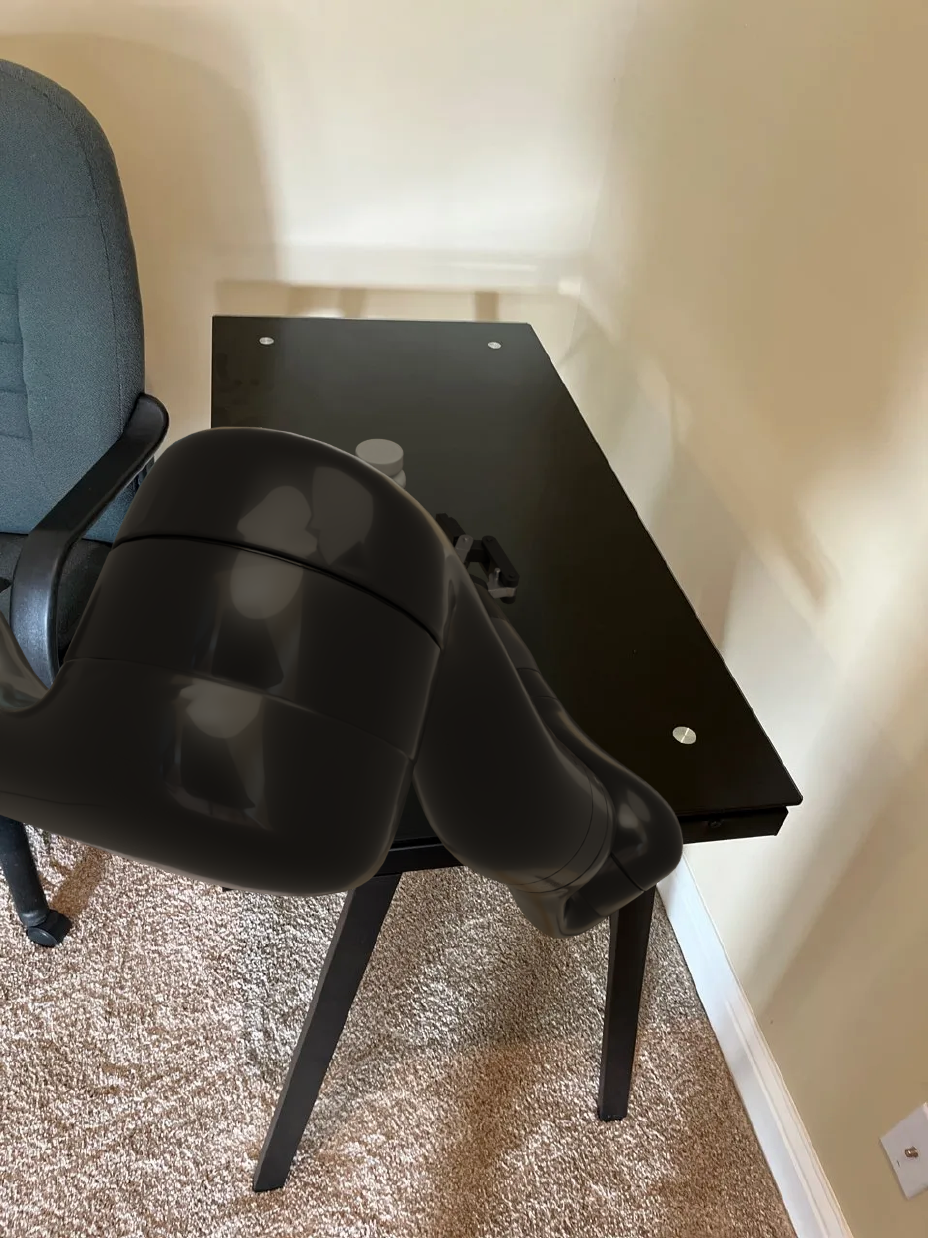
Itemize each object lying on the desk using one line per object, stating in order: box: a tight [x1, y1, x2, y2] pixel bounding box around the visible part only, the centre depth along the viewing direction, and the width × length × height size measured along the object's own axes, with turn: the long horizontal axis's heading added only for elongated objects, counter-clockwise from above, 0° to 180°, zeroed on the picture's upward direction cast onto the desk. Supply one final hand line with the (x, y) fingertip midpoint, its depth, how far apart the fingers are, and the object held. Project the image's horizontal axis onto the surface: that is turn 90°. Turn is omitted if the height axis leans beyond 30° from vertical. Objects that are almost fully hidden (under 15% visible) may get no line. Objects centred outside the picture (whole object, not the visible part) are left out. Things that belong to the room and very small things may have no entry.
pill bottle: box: [354, 438, 407, 490], centre depth 92 cm, size 6×6×11 cm
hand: (391, 529), depth 69 cm, fingers open, 8 cm apart
